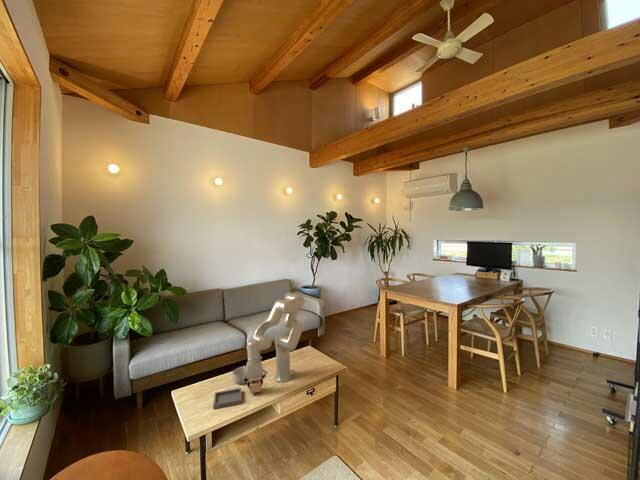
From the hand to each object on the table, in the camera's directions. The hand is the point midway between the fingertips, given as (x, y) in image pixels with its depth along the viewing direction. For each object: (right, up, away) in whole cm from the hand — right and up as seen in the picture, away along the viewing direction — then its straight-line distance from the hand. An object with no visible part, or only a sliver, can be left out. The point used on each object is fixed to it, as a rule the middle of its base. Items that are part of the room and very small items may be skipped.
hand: (255, 386), depth 172 cm
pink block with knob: (0, -2, 0) cm, 2 cm away
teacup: (-13, -4, +14) cm, 20 cm away
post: (0, -4, -1) cm, 4 cm away
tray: (-15, -4, -7) cm, 17 cm away
